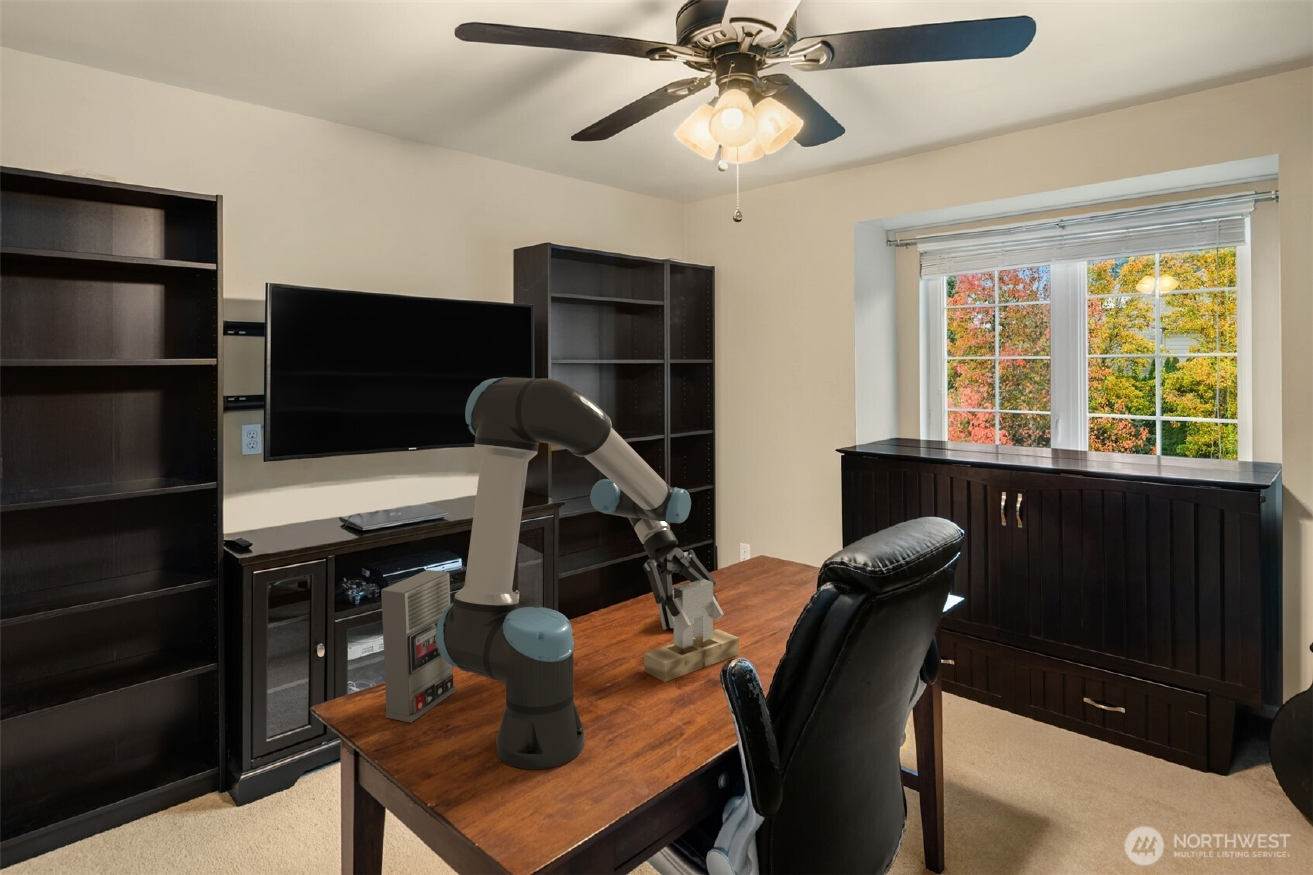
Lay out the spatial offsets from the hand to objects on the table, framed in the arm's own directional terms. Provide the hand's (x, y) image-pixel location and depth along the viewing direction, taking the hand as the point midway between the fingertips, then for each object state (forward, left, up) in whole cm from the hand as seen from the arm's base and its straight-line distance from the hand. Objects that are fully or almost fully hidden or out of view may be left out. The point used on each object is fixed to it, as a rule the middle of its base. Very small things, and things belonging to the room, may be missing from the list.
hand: (703, 622), depth 159 cm
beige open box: (0, +3, -10) cm, 10 cm away
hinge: (+16, +24, -10) cm, 31 cm away
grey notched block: (0, +3, -5) cm, 6 cm away
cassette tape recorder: (-54, +22, -10) cm, 60 cm away
